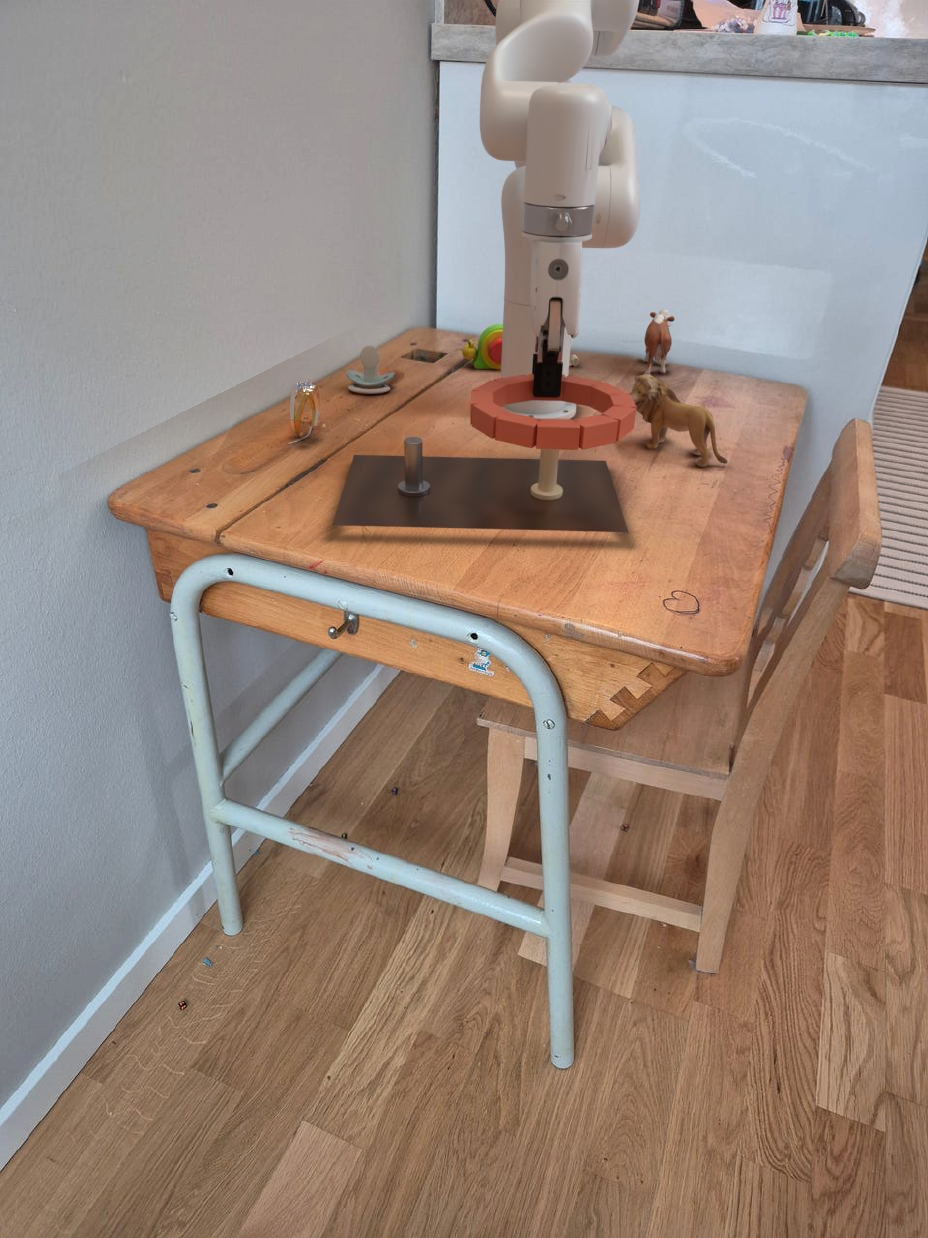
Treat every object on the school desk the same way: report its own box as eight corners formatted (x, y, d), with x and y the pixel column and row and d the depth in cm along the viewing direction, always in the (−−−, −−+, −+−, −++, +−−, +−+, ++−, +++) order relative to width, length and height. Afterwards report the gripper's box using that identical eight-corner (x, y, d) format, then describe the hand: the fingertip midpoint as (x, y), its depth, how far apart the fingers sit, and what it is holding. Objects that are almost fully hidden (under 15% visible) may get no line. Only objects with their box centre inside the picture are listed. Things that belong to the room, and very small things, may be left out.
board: (604, 471, 106) (606, 460, 105) (627, 544, 90) (628, 531, 90) (354, 465, 106) (353, 454, 105) (332, 537, 90) (332, 524, 90)
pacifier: (390, 397, 128) (396, 383, 133) (389, 356, 124) (395, 343, 129) (342, 395, 128) (350, 381, 133) (339, 353, 125) (347, 341, 130)
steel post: (423, 481, 99) (422, 432, 96) (434, 494, 96) (434, 443, 93) (393, 486, 98) (392, 436, 95) (404, 499, 95) (403, 448, 92)
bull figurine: (668, 356, 148) (676, 307, 144) (666, 380, 137) (674, 328, 133) (643, 354, 149) (649, 305, 144) (638, 377, 138) (645, 325, 134)
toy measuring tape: (459, 361, 144) (460, 320, 140) (573, 359, 146) (577, 319, 142) (464, 372, 138) (464, 331, 135) (582, 371, 140) (586, 330, 137)
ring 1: (306, 451, 110) (301, 390, 105) (284, 448, 110) (278, 387, 106) (331, 433, 115) (327, 374, 111) (310, 430, 116) (305, 371, 112)
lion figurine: (615, 442, 114) (623, 376, 109) (636, 432, 118) (644, 366, 113) (717, 473, 106) (730, 402, 102) (736, 460, 110) (750, 391, 105)
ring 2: (644, 451, 88) (647, 428, 86) (470, 447, 88) (470, 425, 86) (619, 395, 103) (621, 375, 101) (470, 392, 103) (471, 372, 101)
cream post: (552, 484, 99) (557, 435, 96) (568, 497, 96) (572, 446, 93) (525, 489, 98) (528, 439, 95) (539, 502, 95) (543, 451, 92)
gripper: (602, 235, 85) (584, 416, 95) (584, 212, 98) (570, 372, 108) (526, 233, 85) (516, 414, 95) (519, 210, 98) (511, 371, 108)
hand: (545, 390), depth 101 cm, fingers closed on ring 2, 2 cm apart
